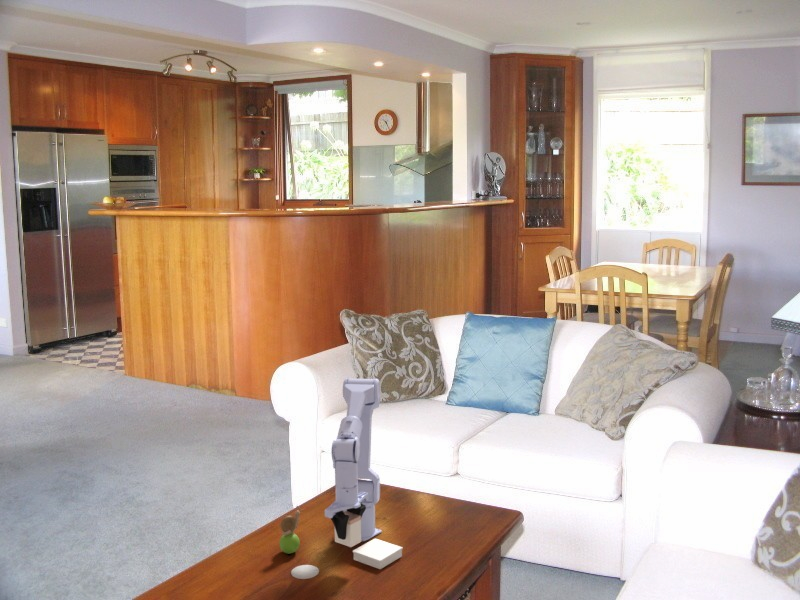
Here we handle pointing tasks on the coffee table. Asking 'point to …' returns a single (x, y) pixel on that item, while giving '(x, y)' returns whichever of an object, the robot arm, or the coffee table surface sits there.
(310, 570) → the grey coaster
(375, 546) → the podium
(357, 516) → the carton
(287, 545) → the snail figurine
